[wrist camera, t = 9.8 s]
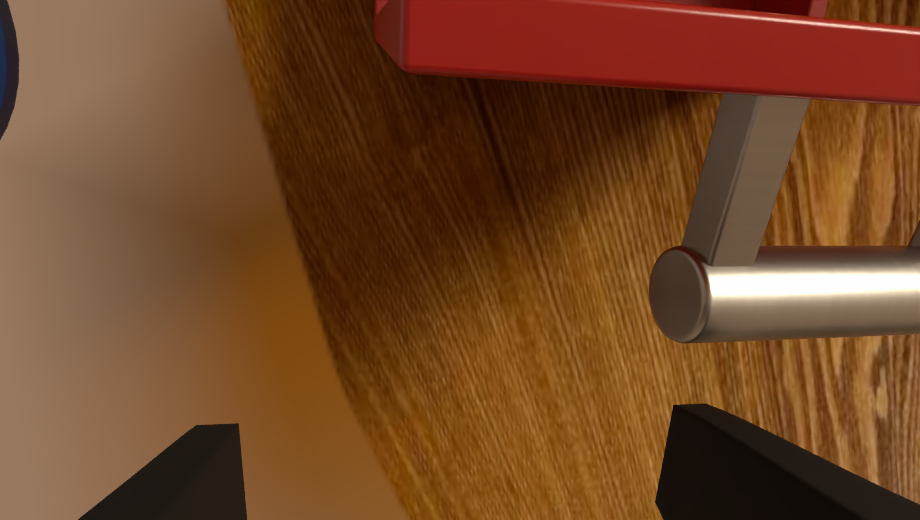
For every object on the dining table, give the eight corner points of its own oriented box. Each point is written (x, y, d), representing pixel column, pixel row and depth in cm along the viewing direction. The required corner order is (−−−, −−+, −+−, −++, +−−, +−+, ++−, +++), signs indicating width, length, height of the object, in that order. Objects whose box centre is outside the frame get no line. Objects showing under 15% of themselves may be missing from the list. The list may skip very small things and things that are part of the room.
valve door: (400, -26, 3) (391, 461, 5) (1577, 91, 6) (1295, 389, 7) (375, 14, 12) (375, 180, 14) (827, 52, 15) (780, 189, 16)
